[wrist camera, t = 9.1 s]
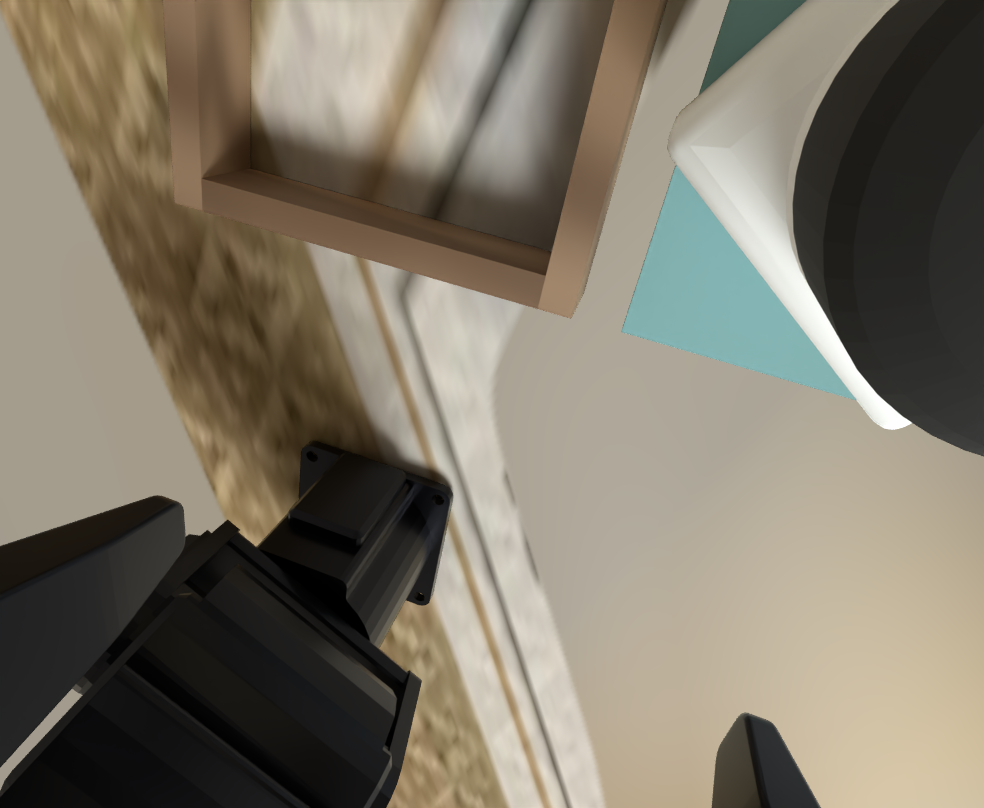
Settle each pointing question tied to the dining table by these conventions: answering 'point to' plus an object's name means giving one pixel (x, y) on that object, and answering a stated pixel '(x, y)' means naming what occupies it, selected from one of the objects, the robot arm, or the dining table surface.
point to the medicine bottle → (862, 195)
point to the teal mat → (721, 260)
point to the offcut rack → (377, 228)
